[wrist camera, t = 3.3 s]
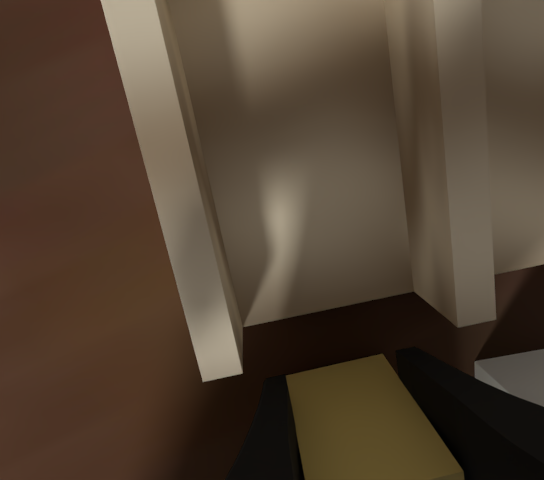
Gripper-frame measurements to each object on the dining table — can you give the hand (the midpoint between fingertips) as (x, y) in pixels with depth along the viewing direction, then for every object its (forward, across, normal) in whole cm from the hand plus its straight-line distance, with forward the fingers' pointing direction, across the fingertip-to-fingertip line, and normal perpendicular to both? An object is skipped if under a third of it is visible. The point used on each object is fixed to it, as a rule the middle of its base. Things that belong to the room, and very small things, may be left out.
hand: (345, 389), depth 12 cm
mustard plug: (+1, 0, +3) cm, 3 cm away
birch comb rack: (+1, -3, -8) cm, 9 cm away
